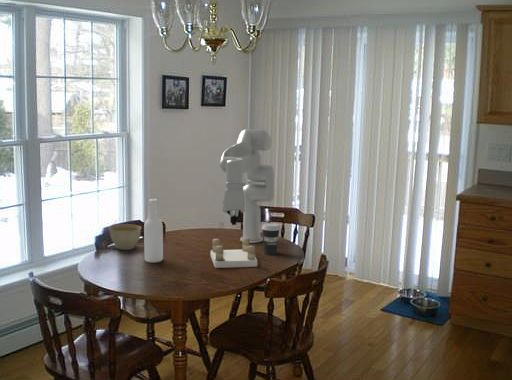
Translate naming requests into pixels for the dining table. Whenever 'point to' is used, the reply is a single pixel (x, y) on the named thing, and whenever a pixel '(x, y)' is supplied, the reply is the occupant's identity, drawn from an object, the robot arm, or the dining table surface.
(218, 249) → the swing leg
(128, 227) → the planter bowl
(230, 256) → the footstool seat
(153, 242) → the alcohol
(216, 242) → the fixed legs
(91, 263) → the dining table surface
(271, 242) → the coffee cup
